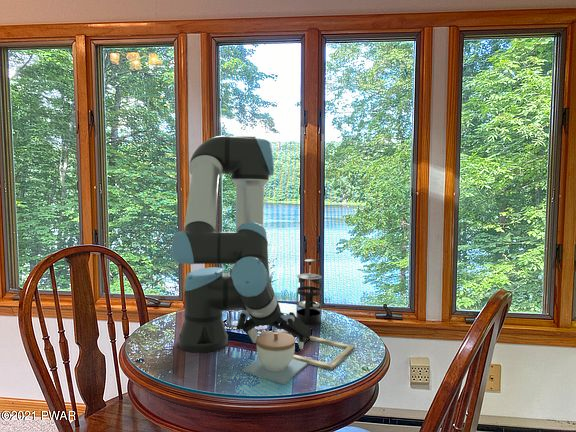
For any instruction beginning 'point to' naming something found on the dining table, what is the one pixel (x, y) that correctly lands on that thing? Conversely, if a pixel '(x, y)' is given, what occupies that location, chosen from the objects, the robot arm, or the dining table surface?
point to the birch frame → (335, 362)
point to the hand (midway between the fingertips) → (278, 341)
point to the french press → (309, 299)
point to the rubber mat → (276, 376)
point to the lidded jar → (275, 350)
